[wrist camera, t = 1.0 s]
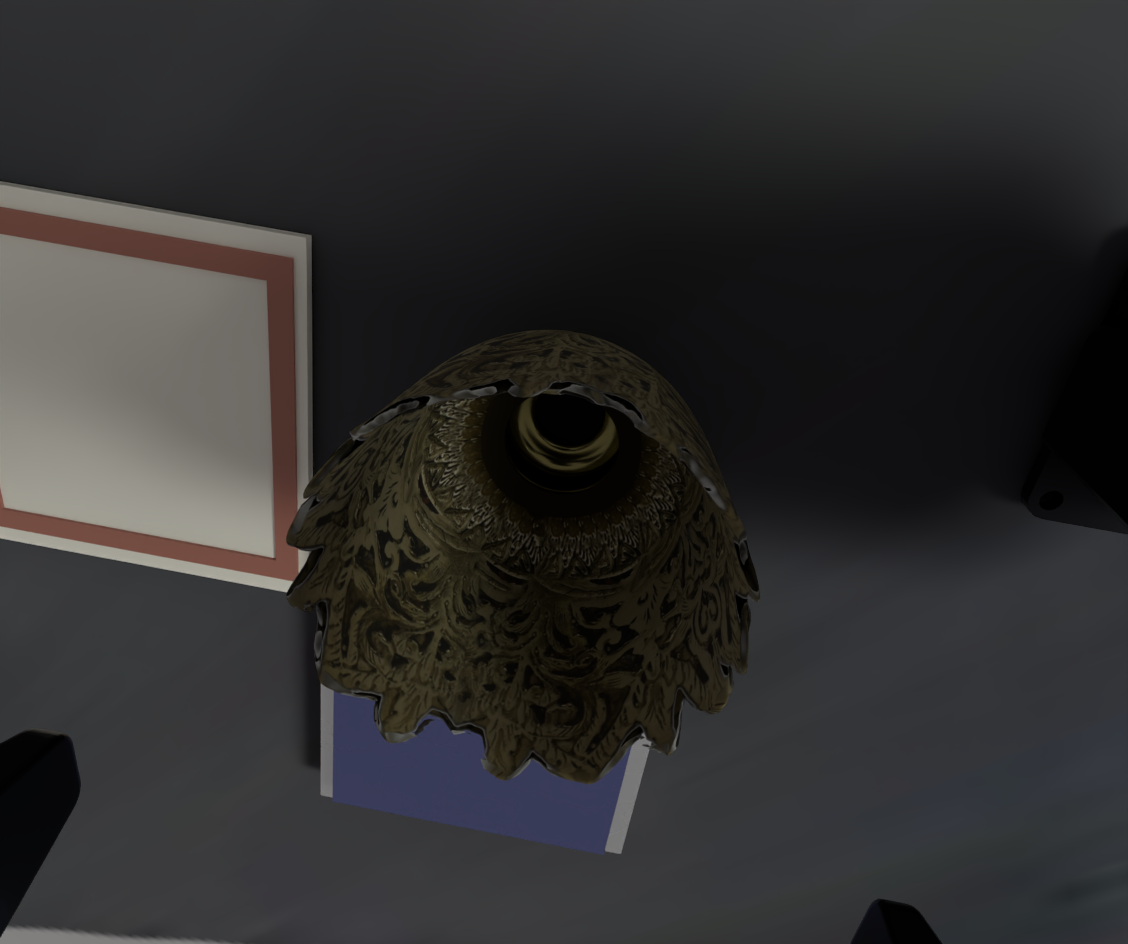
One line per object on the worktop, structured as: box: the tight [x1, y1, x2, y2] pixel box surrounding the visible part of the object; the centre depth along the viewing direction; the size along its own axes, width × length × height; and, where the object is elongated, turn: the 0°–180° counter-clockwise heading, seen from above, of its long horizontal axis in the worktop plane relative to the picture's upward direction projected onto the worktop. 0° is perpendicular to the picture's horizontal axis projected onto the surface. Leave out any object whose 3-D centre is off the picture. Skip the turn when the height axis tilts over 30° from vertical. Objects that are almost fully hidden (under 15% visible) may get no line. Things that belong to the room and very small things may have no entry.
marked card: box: [0, 181, 313, 592], centre depth 20 cm, size 10×10×1 cm
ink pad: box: [321, 684, 651, 855], centre depth 23 cm, size 10×9×2 cm
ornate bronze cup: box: [286, 330, 760, 785], centre depth 16 cm, size 8×7×8 cm
